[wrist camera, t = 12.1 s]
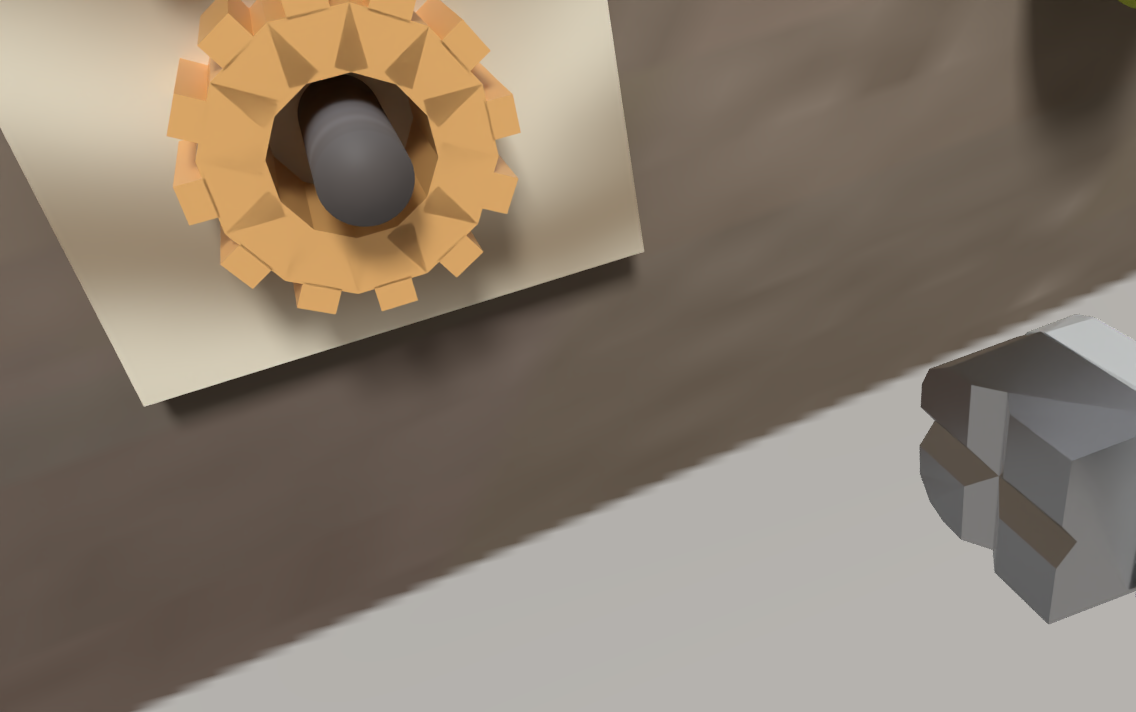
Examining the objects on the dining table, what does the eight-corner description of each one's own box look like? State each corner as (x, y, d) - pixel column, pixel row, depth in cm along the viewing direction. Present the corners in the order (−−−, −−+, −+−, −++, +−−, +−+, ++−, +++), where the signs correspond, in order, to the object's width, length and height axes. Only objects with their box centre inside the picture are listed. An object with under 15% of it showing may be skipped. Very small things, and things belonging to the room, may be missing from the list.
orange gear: (241, 293, 22) (244, 353, 20) (120, -2, 19) (103, 26, 16) (513, 213, 23) (547, 260, 21) (446, -80, 20) (479, -64, 17)
